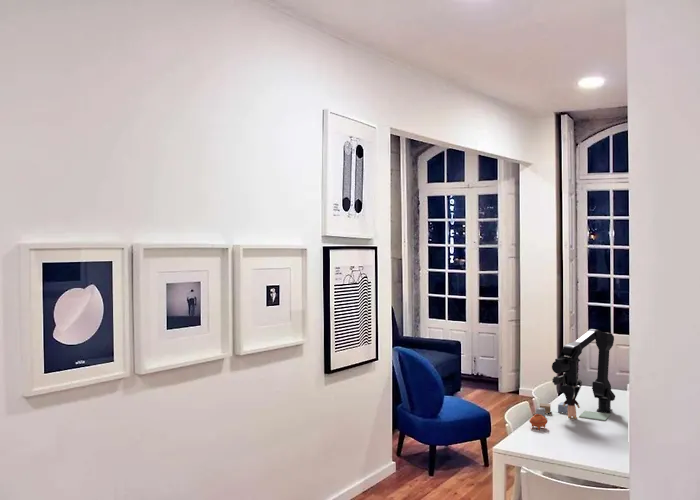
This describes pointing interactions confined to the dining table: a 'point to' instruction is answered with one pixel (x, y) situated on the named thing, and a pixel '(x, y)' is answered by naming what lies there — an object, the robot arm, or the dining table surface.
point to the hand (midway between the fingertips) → (571, 403)
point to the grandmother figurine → (572, 408)
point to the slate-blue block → (562, 408)
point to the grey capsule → (540, 411)
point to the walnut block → (546, 406)
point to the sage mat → (594, 415)
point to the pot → (538, 421)
